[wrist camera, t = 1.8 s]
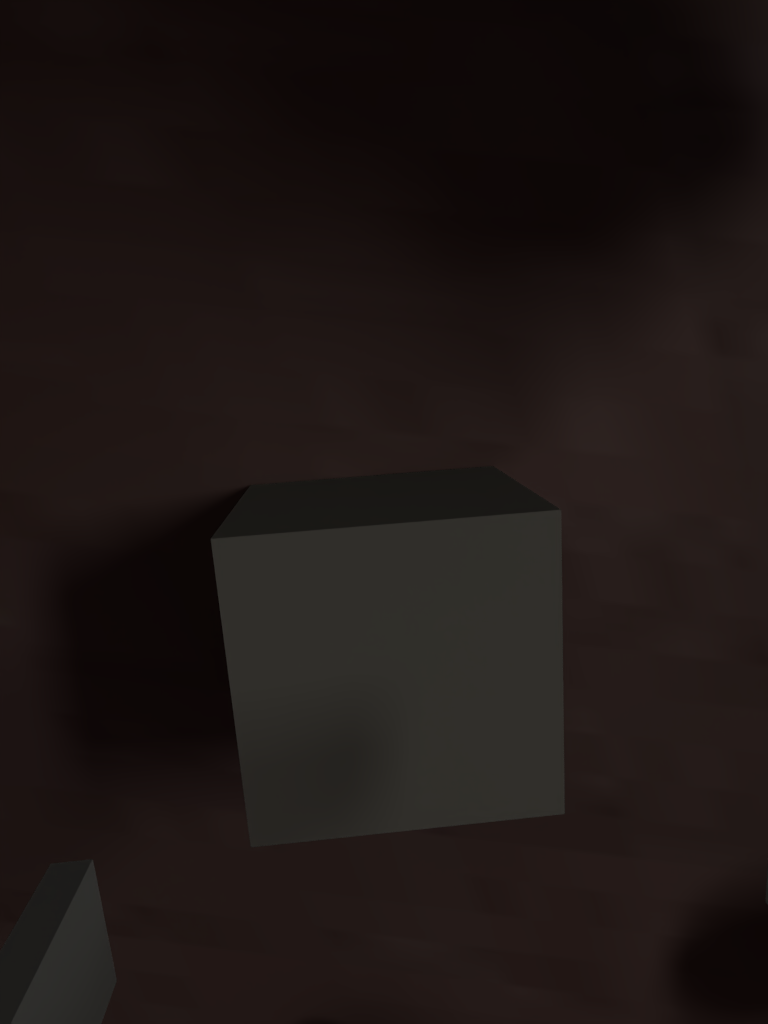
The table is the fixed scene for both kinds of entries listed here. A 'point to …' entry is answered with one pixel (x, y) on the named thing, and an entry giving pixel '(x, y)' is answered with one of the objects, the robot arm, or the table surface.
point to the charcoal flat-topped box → (393, 652)
